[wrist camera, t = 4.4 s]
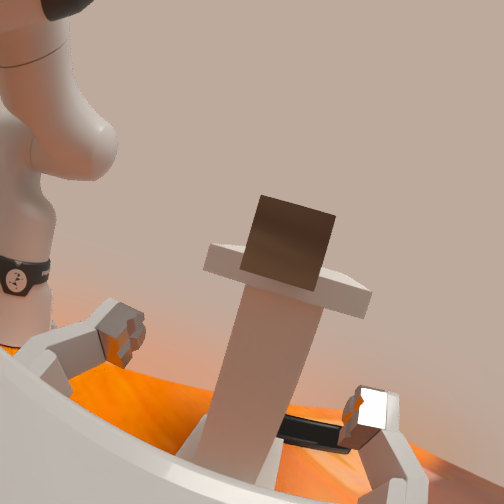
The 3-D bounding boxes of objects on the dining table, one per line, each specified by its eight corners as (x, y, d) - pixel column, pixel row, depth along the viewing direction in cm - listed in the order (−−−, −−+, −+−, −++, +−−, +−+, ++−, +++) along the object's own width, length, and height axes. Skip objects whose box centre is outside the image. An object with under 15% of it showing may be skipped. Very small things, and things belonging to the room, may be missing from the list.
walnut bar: (313, 291, 12) (335, 216, 12) (239, 269, 13) (261, 194, 12) (310, 264, 38) (317, 240, 38) (286, 257, 38) (293, 232, 38)
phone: (261, 407, 49) (344, 426, 48) (259, 413, 49) (342, 431, 48) (257, 432, 41) (352, 451, 40) (255, 438, 41) (349, 457, 40)
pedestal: (263, 531, 22) (372, 292, 21) (151, 491, 24) (210, 243, 23) (281, 444, 40) (344, 274, 39) (203, 418, 42) (253, 246, 41)
